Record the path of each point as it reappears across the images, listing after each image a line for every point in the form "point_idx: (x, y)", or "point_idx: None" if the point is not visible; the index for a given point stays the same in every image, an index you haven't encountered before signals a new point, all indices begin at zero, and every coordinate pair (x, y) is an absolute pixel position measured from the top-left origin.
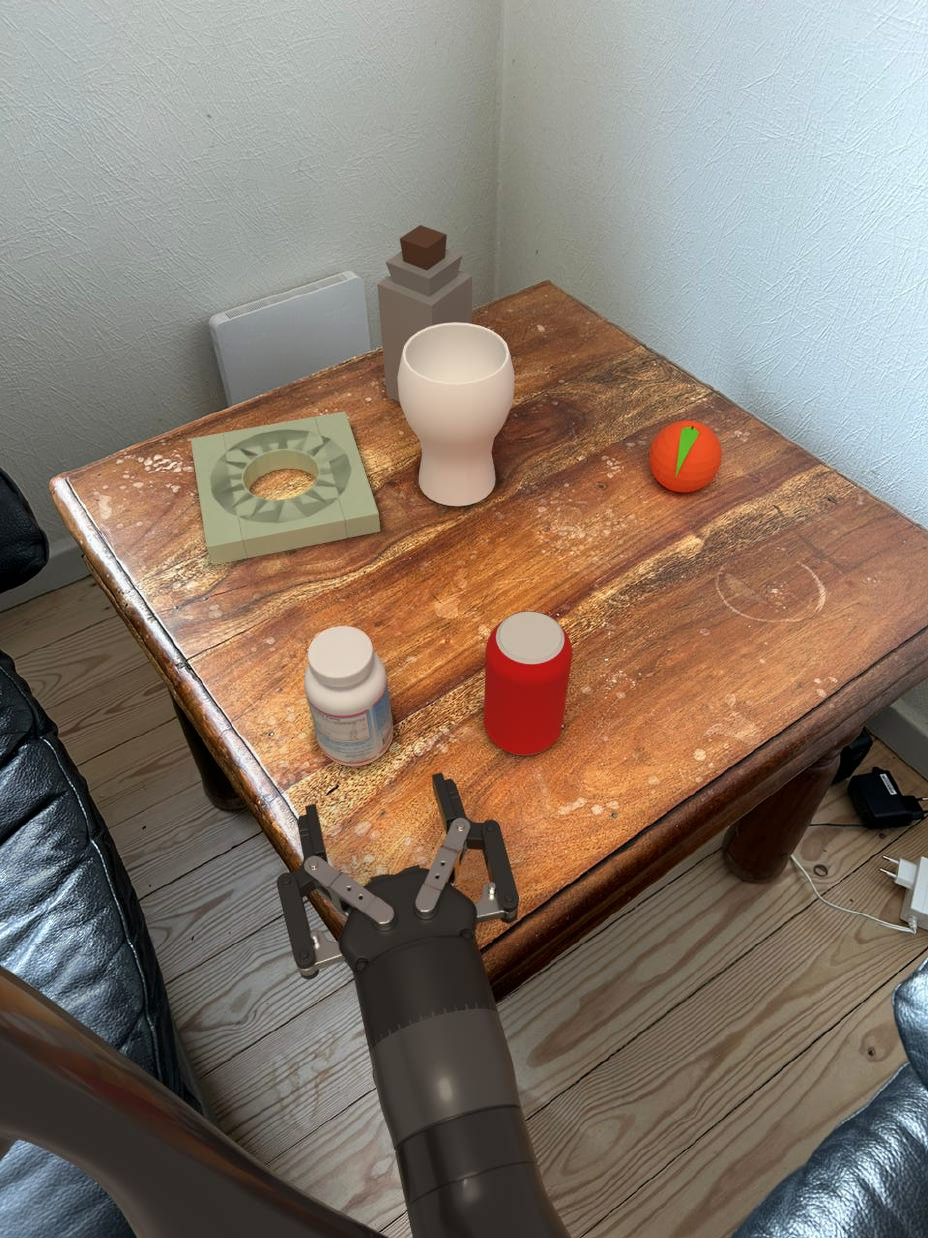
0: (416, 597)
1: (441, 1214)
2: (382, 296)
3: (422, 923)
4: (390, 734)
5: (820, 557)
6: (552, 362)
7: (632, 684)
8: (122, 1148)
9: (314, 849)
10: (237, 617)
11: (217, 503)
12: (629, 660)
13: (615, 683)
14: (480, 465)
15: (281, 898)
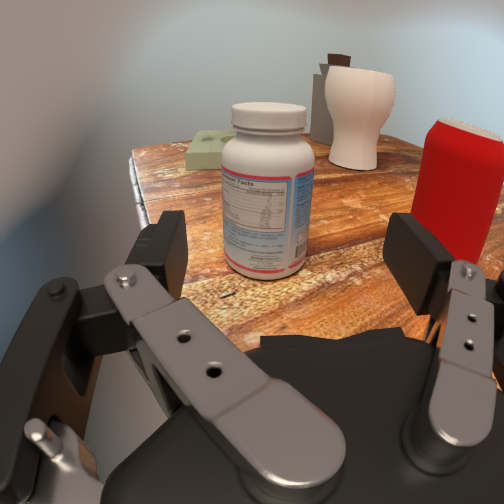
0: (328, 195)
1: None
2: (315, 80)
3: (430, 487)
4: (304, 251)
5: None
6: (395, 146)
7: (500, 263)
8: None
9: (144, 256)
10: (189, 188)
11: (201, 143)
12: (492, 250)
13: (489, 260)
14: (371, 143)
15: (27, 316)
